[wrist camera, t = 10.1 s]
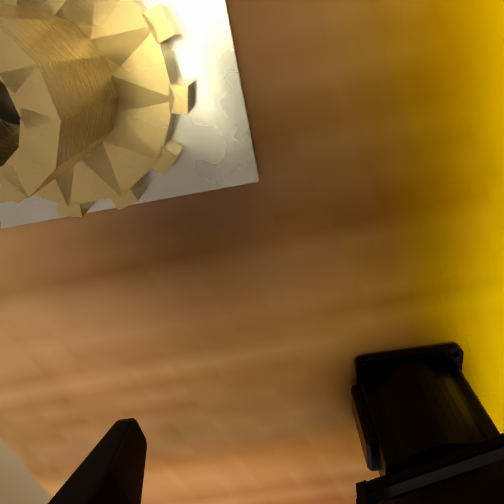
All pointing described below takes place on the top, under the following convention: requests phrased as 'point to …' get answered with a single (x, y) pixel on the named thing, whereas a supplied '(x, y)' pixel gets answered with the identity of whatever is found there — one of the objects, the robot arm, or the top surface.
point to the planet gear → (87, 100)
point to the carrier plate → (182, 117)
